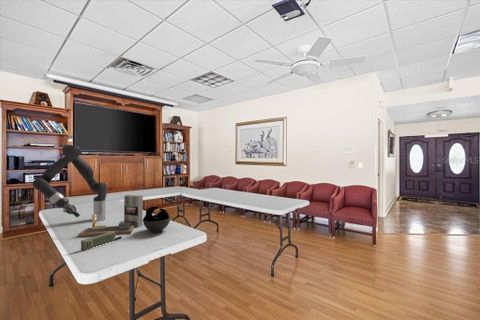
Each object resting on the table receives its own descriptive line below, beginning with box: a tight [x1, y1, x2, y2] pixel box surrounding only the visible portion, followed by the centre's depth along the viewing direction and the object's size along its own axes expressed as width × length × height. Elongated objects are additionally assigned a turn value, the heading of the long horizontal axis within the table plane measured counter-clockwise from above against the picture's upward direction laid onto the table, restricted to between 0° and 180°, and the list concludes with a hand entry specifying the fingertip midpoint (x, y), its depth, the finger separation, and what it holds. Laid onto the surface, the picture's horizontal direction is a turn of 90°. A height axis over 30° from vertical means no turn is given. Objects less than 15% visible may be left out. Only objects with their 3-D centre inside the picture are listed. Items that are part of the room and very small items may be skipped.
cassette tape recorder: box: [123, 194, 144, 228], centre depth 189 cm, size 14×6×25 cm, turn 76°
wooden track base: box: [77, 225, 135, 239], centre depth 172 cm, size 14×34×4 cm, turn 106°
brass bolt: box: [91, 214, 107, 229], centre depth 170 cm, size 3×8×12 cm, turn 106°
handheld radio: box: [80, 231, 123, 251], centre depth 149 cm, size 7×3×25 cm
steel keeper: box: [118, 220, 131, 230], centre depth 175 cm, size 6×7×5 cm
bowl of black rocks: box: [142, 205, 171, 233], centre depth 177 cm, size 20×20×19 cm
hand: (78, 216), depth 167 cm, fingers closed
